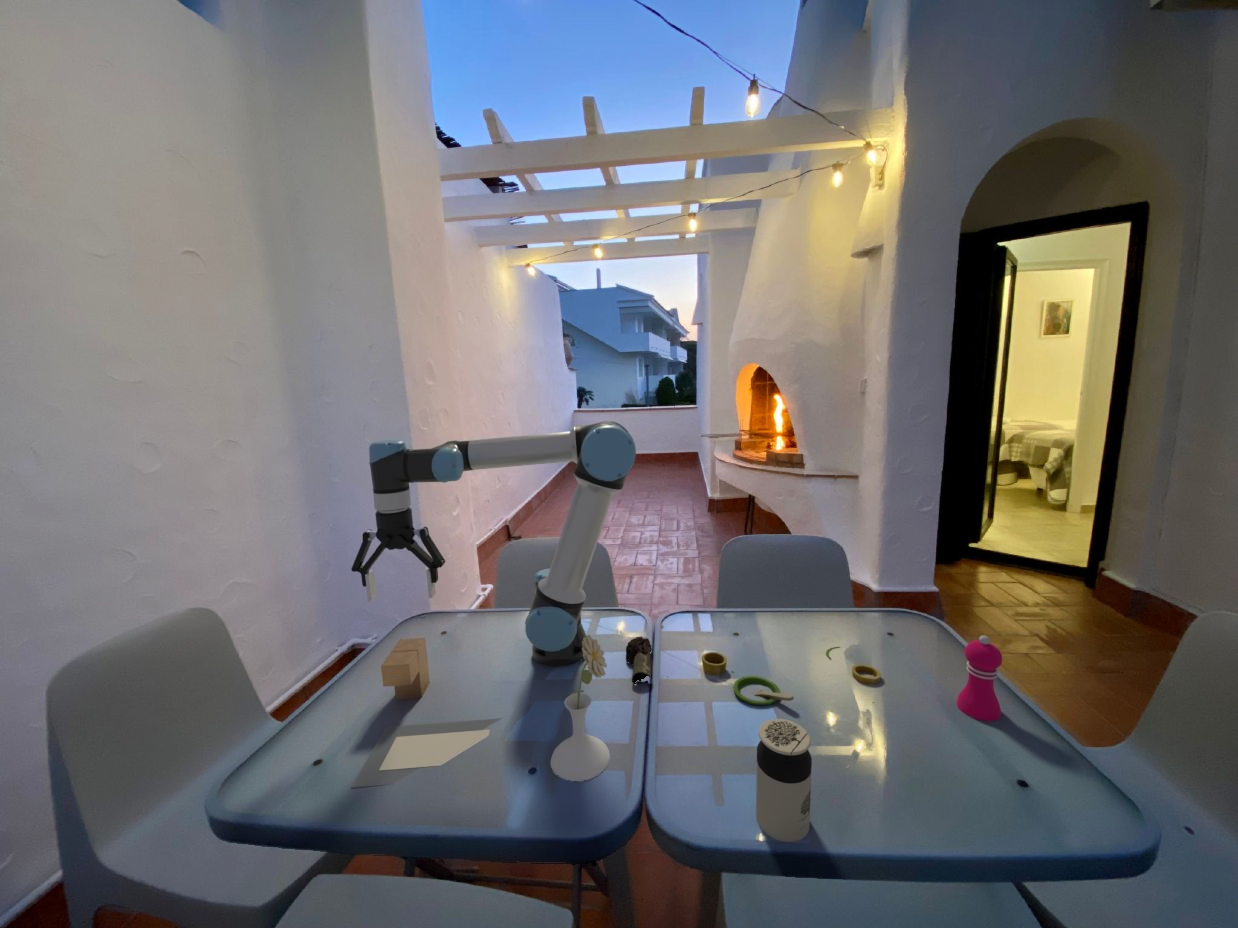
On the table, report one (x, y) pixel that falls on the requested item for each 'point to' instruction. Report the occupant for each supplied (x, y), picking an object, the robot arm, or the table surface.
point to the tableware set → (717, 665)
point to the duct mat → (418, 749)
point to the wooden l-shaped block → (407, 668)
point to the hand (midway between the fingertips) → (402, 597)
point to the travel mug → (783, 780)
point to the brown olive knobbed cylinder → (639, 658)
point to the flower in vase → (582, 726)
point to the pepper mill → (981, 681)
